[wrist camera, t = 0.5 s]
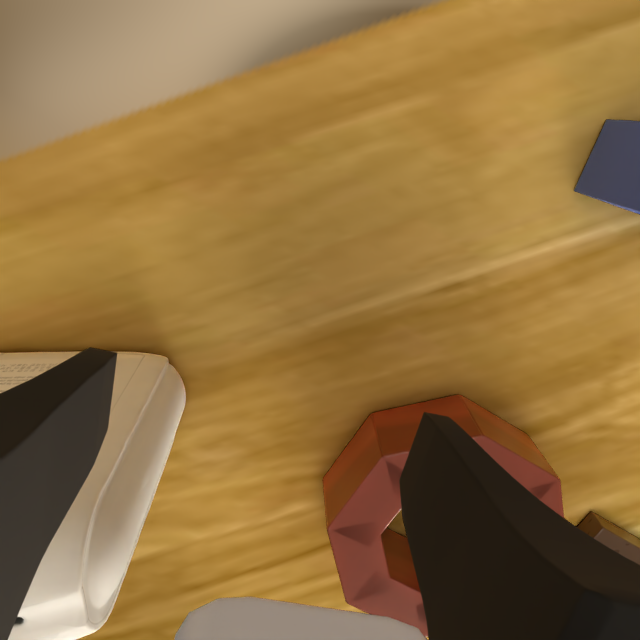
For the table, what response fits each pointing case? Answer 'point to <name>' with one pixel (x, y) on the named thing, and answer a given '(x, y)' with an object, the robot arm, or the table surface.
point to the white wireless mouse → (101, 496)
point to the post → (611, 536)
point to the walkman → (614, 166)
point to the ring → (385, 502)
